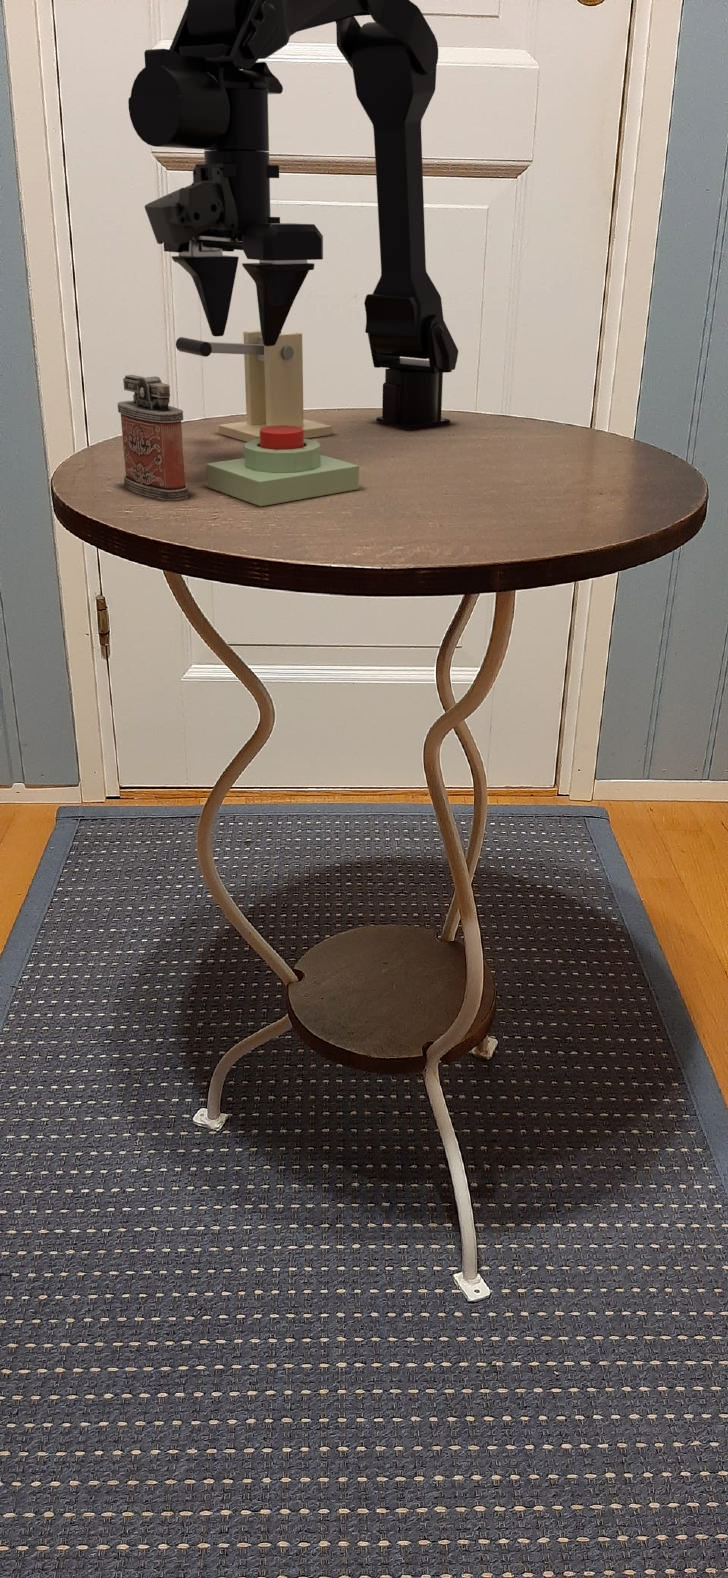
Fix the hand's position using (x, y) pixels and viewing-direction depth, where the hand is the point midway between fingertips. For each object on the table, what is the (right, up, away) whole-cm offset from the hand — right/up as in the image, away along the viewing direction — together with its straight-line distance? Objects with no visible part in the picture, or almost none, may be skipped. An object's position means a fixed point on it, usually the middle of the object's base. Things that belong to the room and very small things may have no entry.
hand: (242, 340), depth 108 cm
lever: (-2, +4, +15) cm, 16 cm away
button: (+4, -11, -3) cm, 12 cm away
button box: (+4, -14, -1) cm, 15 cm away
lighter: (-8, -15, -2) cm, 17 cm away
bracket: (+1, -2, +22) cm, 22 cm away
